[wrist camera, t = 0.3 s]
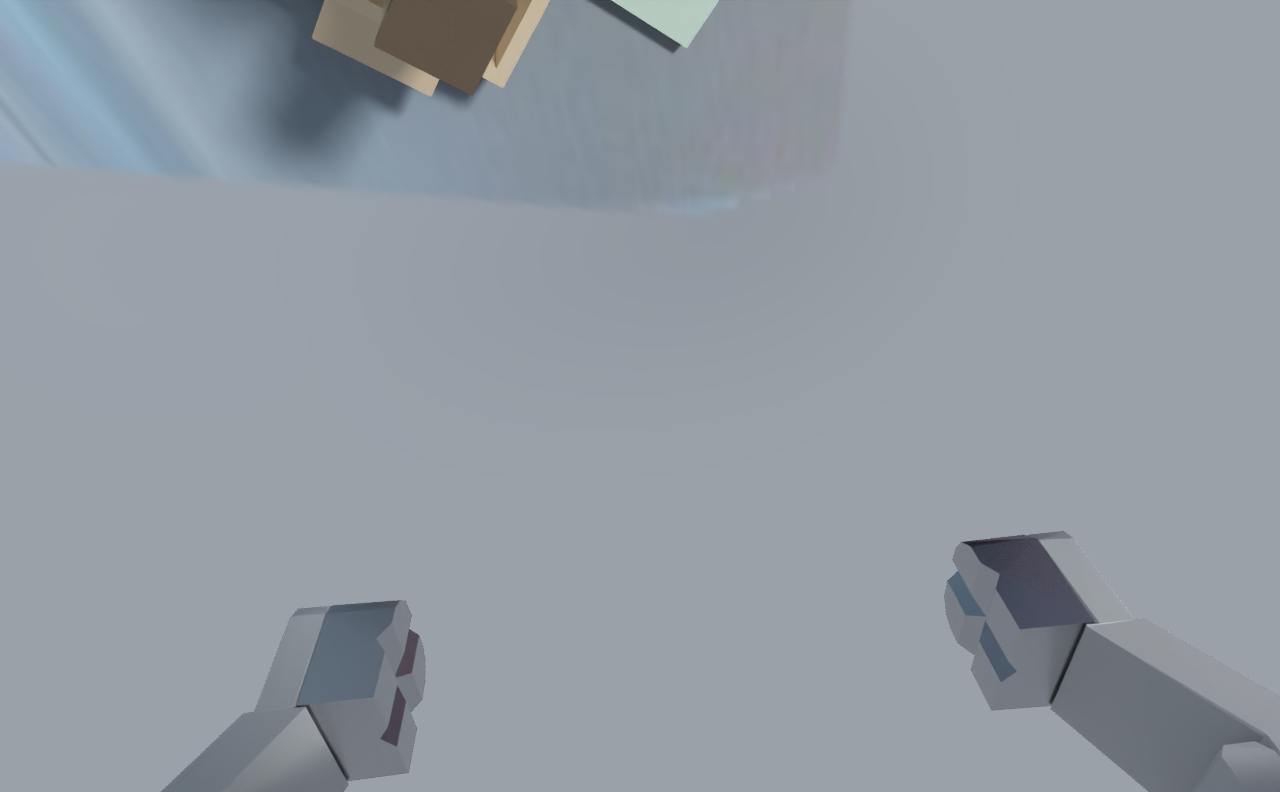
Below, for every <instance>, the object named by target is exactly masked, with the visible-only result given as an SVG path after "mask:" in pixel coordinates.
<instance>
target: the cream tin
mask: <svg viewBox="0 0 1280 792" xmlns="http://www.w3.org/2000/svg"><path fill="white" fill-rule="evenodd" d="M517 8H518V7H517V0H384V4H383V11H382V17H381V23H380V28H379V30H378V33H377V35H376V38H375V44H374V47H376V48H378V49H380V50H382V51H384V52H386V53H388V54H390V55H392V56H394V57H396V58H398V59H400V60H402V61H404V62H406V63H408V64H410V65H412V66H414V67H416V68H418V69H420V70H422V71H424V72H426V73H428V74H429V75H431V76H433V77H435V78H437V79H439V80H441V81H443V82H445V83H447V84H449V85H451V86H453V87H455V88H457V89H459V90H461V91H463V92H465V93H467V94H469V95H471V96H473V94H474V92H475V90H476V88H477V86H478V84H479V82H480V80H481V78H482V76H483V74H484V72H485V70H486V68H487V66H488V64H489V62H490V61H491V59H492V57H493V55H494V53H495V51H496V49H497V47H498V45H499V43H500V41H501V39H502V37H503V35H504V33H505V31H506V29H507V27H508V25H509V23H510V21H511V19H512V18H513V16H514V14H515V12H516V10H517Z"/></svg>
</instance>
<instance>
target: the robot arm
mask: <svg viewBox="0 0 1280 792" xmlns="http://www.w3.org/2000/svg"><path fill="white" fill-rule="evenodd" d="M953 562H954V563H955V565H956V567H957V569H958V572H956V573H955V574H954V575H953V576H952V577H951V578H950V579H949V580H948V581H947V585H946V590H945V596H944V598H945V608H946V615H947V618H948V621H949V625H950V628H951V630H952V632H953V634H954V636H955V638H956V641H957V643H958V644H960V645H961V646H962V647H964V648H965V649H967V650H968V651H969V652H971V653H972V654H974V655H975V656H974V660H973V664H972V668H971V671H972V673H973V675H974V677H975V679H976V680H977V683H978V685H979V687H980V689H981V691H982V693H983V695H984V696H985V698H986V700H987V702H988V704H989V706H990V708H991V710H1003V709H1016V708H1029V707H1041V706H1051V710H1053V711H1054V712H1055V713H1056V714H1057V715H1058V716H1060V717H1061V718H1062V719H1063V720H1064V721H1065V722H1067V723H1068V724H1069V725H1070V726H1071V727H1073V728H1074V729H1075V730H1076V731H1077V732H1078V733H1080V734H1081V735H1082V736H1083V737H1084V738H1086V739H1087V740H1088V741H1089V742H1090V743H1092V744H1093V745H1094V746H1095V747H1096V748H1097V749H1099V750H1100V751H1101V752H1102V753H1104V754H1105V755H1106V756H1107V757H1108V758H1109V759H1111V760H1112V761H1113V762H1114V763H1115V764H1116V765H1118V766H1119V767H1120V768H1121V769H1122V770H1124V771H1125V772H1126V773H1127V774H1128V775H1130V776H1131V777H1132V778H1133V779H1134V780H1135V781H1137V782H1138V783H1139V784H1140V785H1141V786H1143V787H1144V788H1145V789H1146V790H1147V791H1149V792H1280V696H1279V695H1278V694H1276V693H1274V692H1273V691H1271V690H1269V689H1267V688H1266V687H1264V686H1262V685H1260V684H1259V683H1257V682H1255V681H1253V680H1252V679H1250V678H1248V677H1246V676H1244V675H1243V674H1241V673H1239V672H1238V671H1236V670H1234V669H1232V668H1231V667H1229V666H1227V665H1225V664H1224V663H1222V662H1220V661H1218V660H1217V659H1215V658H1213V657H1212V656H1210V655H1208V654H1206V653H1205V652H1203V651H1201V650H1199V649H1197V648H1196V647H1194V646H1192V645H1191V644H1189V643H1187V642H1185V641H1184V640H1182V639H1180V638H1178V637H1176V636H1175V635H1173V634H1172V633H1169V632H1168V631H1166V630H1165V629H1163V628H1161V627H1159V626H1158V625H1156V624H1154V623H1152V622H1151V621H1149V620H1147V619H1134V617H1133V616H1132V615H1131V613H1130V612H1129V611H1128V609H1127V608H1126V607H1125V605H1124V604H1123V603H1122V602H1121V601H1120V599H1119V598H1118V597H1117V595H1116V594H1115V592H1114V591H1113V590H1112V589H1111V587H1110V586H1109V584H1108V583H1107V582H1106V581H1105V579H1104V578H1103V577H1102V575H1101V574H1100V573H1099V571H1098V570H1097V569H1096V567H1095V566H1094V565H1093V563H1092V562H1091V561H1090V559H1089V558H1088V557H1087V556H1086V554H1085V553H1084V552H1083V550H1082V549H1081V548H1080V546H1079V545H1078V544H1077V542H1076V541H1075V540H1074V538H1073V537H1072V536H1071V535H1069V534H1068V533H1066V532H1064V531H1060V532H1051V533H1040V534H1031V535H1017V536H1009V537H1000V538H991V539H983V540H974V541H966V542H961V543H960V544H959V545H958V546H957V547H956V549H955V553H954V557H953ZM411 617H412V615H411V612H410V610H409V608H408V605H407V603H406V601H402V600H399V601H385V602H372V603H359V604H345V605H333V606H325V607H313V608H301V609H297V611H296V612H295V613H294V614H293V615H292V617H291V618H290V619H289V622H288V624H287V627H286V629H285V632H284V635H283V637H282V640H281V642H280V645H279V648H278V650H277V653H276V656H275V658H274V661H273V663H272V666H271V669H270V672H269V674H268V677H267V680H266V682H265V685H264V687H263V690H262V693H261V695H260V698H259V700H258V703H257V705H256V708H255V711H254V712H248V713H243V714H242V715H241V716H240V717H239V718H238V719H237V720H236V721H235V722H234V723H233V724H231V726H230V727H228V728H227V729H226V730H225V731H224V732H223V733H222V734H221V735H220V736H219V737H218V738H217V739H216V740H215V741H214V742H213V743H212V744H211V745H210V746H209V747H207V748H206V749H205V750H204V751H203V752H202V753H201V754H200V755H199V756H198V757H197V758H196V759H195V760H194V761H193V762H192V763H191V764H190V765H189V766H187V767H186V768H185V769H184V770H183V771H182V772H181V773H180V774H179V775H178V776H177V777H176V778H175V779H174V780H173V781H172V782H171V783H170V784H169V785H168V786H166V787H165V788H164V789H163V790H162V791H161V792H344V790H345V789H346V788H347V786H348V782H347V781H352V780H360V779H367V778H375V777H382V776H389V775H396V774H404V773H409V769H410V763H411V758H412V752H413V747H414V742H415V736H416V731H417V727H416V725H415V722H414V720H413V717H412V715H411V712H412V711H413V709H414V708H415V707H416V706H417V705H418V704H419V703H420V701H421V700H422V698H423V692H424V685H425V655H424V649H423V645H422V642H421V639H420V636H419V635H418V634H417V633H415V632H413V631H412V630H410V629H409V627H410V622H411Z"/></svg>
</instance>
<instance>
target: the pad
mask: <svg viewBox="0 0 1280 792" xmlns="http://www.w3.org/2000/svg"><path fill="white" fill-rule="evenodd" d="M612 1H613V2H615V3H616V4H618V5H619V6H621V7H623V8H624V9H626V10H627V11H629V12H630V13H632V14H634V15H635V16H637V17H638V18H640V19H641V20H643V21H645V22H646V23H648V24H649V25H651V26H652V27H654V28H656V29H657V30H659V31H660V32H662V33H663V34H665V35H667V36H668V37H670V38H671V39H673V40H674V41H676V42H678V43H679V44H681V45H682V46H684V47H685V48H687V47H688V45H689V44H690V42H691V41H692V40H693V38H694V37H695V35H696V34H697V32H698V31H699V29H700V28H701V26H702V25H703V23H704V22H705V20H706V19H707V17H708V16H709V14H710V13H711V12H712V10H713V9H714V7H715V6H716V4H717V3H718V1H719V0H612Z"/></svg>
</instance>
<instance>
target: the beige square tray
mask: <svg viewBox="0 0 1280 792" xmlns="http://www.w3.org/2000/svg"><path fill="white" fill-rule="evenodd" d="M549 1H550V0H517V7H518V8H517V10H516V12H515V14H514V16H513V18H512V19H511V21H510V23H509V25H508V27H507V29H506V31H505V33H504V35H503V37H502V39H501V41H500V43H499V45H498V47H497V49H496V51H495V53H494V55H493V57H492V59H491V61H490V62H489V64H488V66H487V68H486V70H485V72H484V74H483V76H482V77H483V78H484V79H486V80H488V81H490V82H492V83H494V84H496V85H498V86H500V87H502V88H503V87H504V85H505V84H506V82H507V80H508V78H509V76H510V74H511V72H512V71H513V69H514V67H515V65H516V63H517V61H518V59H519V57H520V56H521V54H522V52H523V50H524V48H525V46H526V44H527V43H528V41H529V39H530V37H531V35H532V33H533V31H534V29H535V28H536V26H537V24H538V22H539V20H540V18H541V16H542V15H543V13H544V11H545V9H546V7H547V5H548V3H549ZM383 4H384V0H324V3H323V6H322V8H321V11H320V14H319V17H318V20H317V23H316V26H315V29H314V32H313V35H312V39H314V40H316V41H318V42H320V43H322V44H324V45H326V46H328V47H330V48H332V49H334V50H336V51H338V52H340V53H342V54H344V55H346V56H348V57H350V58H352V59H355V60H357V61H359V62H361V63H363V64H365V65H367V66H369V67H371V68H373V69H375V70H377V71H379V72H381V73H383V74H385V75H387V76H389V77H391V78H393V79H395V80H397V81H400V82H402V83H404V84H406V85H408V86H410V87H412V88H414V89H416V90H418V91H420V92H422V93H424V94H426V95H428V96H430V97H431V96H432V94H433V92H434V90H435V88H436V86H437V84H438V81H439V79H437V78H435V77H433V76H431V75H429V74H428V73H426V72H424V71H422V70H420V69H418V68H416V67H414V66H412V65H410V64H408V63H406V62H404V61H402V60H400V59H398V58H396V57H394V56H392V55H390V54H388V53H386V52H384V51H382V50H380V49H378V48H376V47H374V44H375V38H376V35H377V33H378V30H379V28H380V23H381V17H382V11H383Z"/></svg>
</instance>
